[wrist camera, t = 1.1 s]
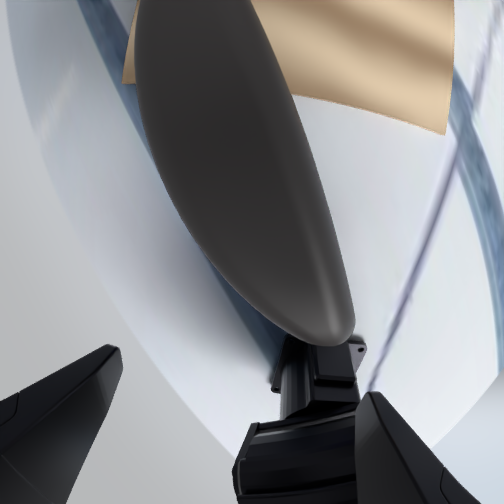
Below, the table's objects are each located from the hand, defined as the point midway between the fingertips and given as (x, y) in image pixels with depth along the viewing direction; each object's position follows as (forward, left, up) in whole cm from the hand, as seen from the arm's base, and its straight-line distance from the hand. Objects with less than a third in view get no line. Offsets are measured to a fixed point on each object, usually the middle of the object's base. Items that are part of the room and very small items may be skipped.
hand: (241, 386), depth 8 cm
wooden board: (+15, 0, -12) cm, 19 cm away
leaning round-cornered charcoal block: (+7, 0, -12) cm, 14 cm away
